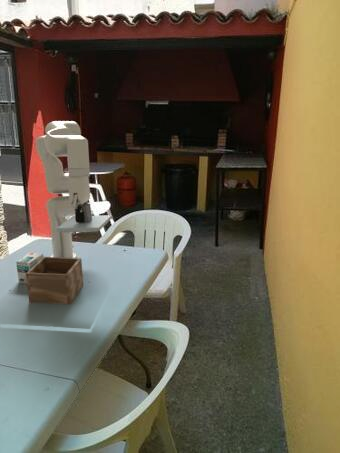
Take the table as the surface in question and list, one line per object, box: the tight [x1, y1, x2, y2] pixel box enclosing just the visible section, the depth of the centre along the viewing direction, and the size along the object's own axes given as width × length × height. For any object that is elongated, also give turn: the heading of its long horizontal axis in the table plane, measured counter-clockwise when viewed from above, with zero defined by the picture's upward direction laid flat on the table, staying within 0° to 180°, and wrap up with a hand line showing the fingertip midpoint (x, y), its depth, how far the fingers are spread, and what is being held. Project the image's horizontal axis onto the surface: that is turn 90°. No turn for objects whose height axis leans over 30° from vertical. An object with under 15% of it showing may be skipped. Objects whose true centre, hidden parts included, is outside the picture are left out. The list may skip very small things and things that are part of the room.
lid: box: [56, 202, 113, 233], centre depth 132 cm, size 16×16×9 cm
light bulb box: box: [15, 252, 44, 284], centre depth 151 cm, size 11×7×11 cm, turn 168°
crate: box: [26, 256, 84, 305], centre depth 139 cm, size 16×16×13 cm
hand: (82, 219), depth 132 cm, fingers closed on lid, 4 cm apart
